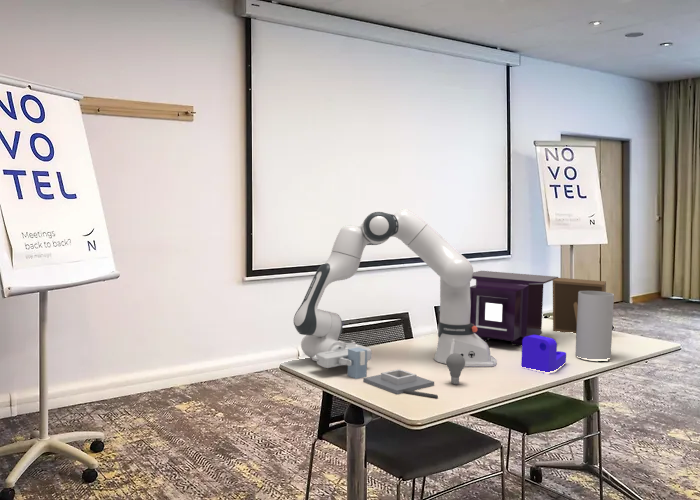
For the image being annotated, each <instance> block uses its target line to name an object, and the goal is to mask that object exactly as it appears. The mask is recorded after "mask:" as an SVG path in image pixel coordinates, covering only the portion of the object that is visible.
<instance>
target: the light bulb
mask: <svg viewBox="0 0 700 500" xmlns="http://www.w3.org/2000/svg"><path fill="white" fill-rule="evenodd" d="M464 366H465V359H464V358H463V356H462V355H461V354H458V353H453V354H450V355H449V356H448V358H447V360H446V367H447V369H448V371H449V375H450V383H452V385H458V384H459V383H460V377H461V373H462V372H463V370H464V368H465V367H464Z"/></svg>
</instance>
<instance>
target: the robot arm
mask: <svg viewBox="0 0 700 500" xmlns="http://www.w3.org/2000/svg"><path fill="white" fill-rule="evenodd" d="M362 221H363V222H362V223H361V224H360V225H359V226H357V225H351V224H350V225H345V226H342V227H340V230H339V231H338V233H337V235H336V238H335V240H334V242H333V246H332V249H331V252H330V255H329V256H328V258H327V260H326V261H325V263H323V264H321V265H320V266H319V267H318V269H317V270H316V272H315V273H314V275H313V278H312V280H311V282H310V285H309V286H308V289H307V291H306V294H305V296H304V298H303V301H302V302H301V304H300V306H299V307H298V308H297V311H296V312H295V314H294V316H293V325H294V328H295V330H296V331H297V333H298V334H299V335H302V336H304V337H303V338H302V340H301V342H300V347H301V348H300V349H301V350H302V352H303V353H304V355H305V356H307V357H308V358H310V359H312V361H315V362H316V364H317V365H319V366H320V367H322V368H325V369H326V368H327V369H329V368H337V367H340V366H347V367H348V366H352V365H354V361H353V360H352V359H348V349H352V348H357V347H359V348H362V349H366V350H367V362H368V361H371V360H372V357H373V356H372V354H373V353H372V349H371V348H369V347H367V346H364V345H361V344H357V343H356V342H355V341H352V340H351V341H350V340H349V341H347V340H346V341H345V340H344V341H342V340H340V337H341V335H342V333H343V326H344V325H343V320H342V318H341V316H340V314H338V313H336V312H332V311H328V310H324V309H320V308H319V307H318V306H319V304H320V301H321V299H322V297H323V296H324V292H325V290H326V288H327V287H328V286H329V285H330V284H332V283H335V282H340V281H345V280H348V279H350V278H352V277H353V276H354V275H356V274H357V271H358V270H359V267H360V263H361V260H362V256H363V252H364V250H365V248H366V246H377V245H381V244H384V243H385V242H387V241H388V240H389V239H390V238H396V239H398V240H400V241H401V242H402V243H403V244H404V245H405V246H406V247H407V248H409V250H411V251H412V252H413V253H414V254H415V255H416V256H417V257H419V258H420V259H421V260H422V261H423V262H424V263H425V264H426V265H427V266H428V267H429V268H430V269H431V270H432V271H433V272H434V273H436V275H438V277H440V279H439V282H440V283H439V285H440V286H439V290H440V291H439V293H440V294H439V321H438V322H437V323H438V324H437V337H438V341H437V347H436V350H435V354H434V357H433V359H434V361H435V362H438V363H441V364H446V360H447V358H448V356H449V355H450V354H453V353H458V354H461V355H462V356H463V358H464V359H465V366H464V368H466V367H467V368H469V367H475V368H476V367H494V366H496V365H497V359H496V357H495V356H492V355H491V349H490V347H489V344H488V342H487V341H484V340H482V339H481V338H480V337H479V336H478V335H476V334H475V332H477V330H478V329H477V327H476V326H475V325H474V324H472V323H470V308H471V299H470V287H471V281H472V280H473V279H472V277H473V272H474V267H473V265H472V263H471V261H469V260H468V259H467V257H465V256H464V255H462V254H461V252H460V251H458V250H457V249H456V248H455V247H454V246H453V245H452V244H451V243H450V242H449V241H448V240H447V239H445V238H444V237H443V236H442V235H441V234H439V233H438V232H437V231H436V230H435V229H434V228H433V227H432V226H431V225H430V224H429V223H427V222H426V221H425V220H424V219H423V218H421V217H420V216H419V215H417V214H416V213H414V212H412V211H411V210H409V209H406V208H404V209H399V210H397V211H396V212H395V213H394V214H391V213H386V212H383V211H374V212H371V213H370V214H368V215H367V216H366V217H365V218H364V219H363V220H362ZM446 365H447V364H446Z"/></svg>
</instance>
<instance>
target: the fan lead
mask: <svg viewBox="0 0 700 500" xmlns="http://www.w3.org/2000/svg"><path fill="white" fill-rule="evenodd" d="M403 392H404V393H403V394H408V395H409V394H410V395H414V394H415V395H416V396H420V395H421V397H422V396H423V397H426V396H427V398H432V397H434V398H433V399H438V398H439V396H438V394H435V393H434V394H433V393H428V392H422V391H417V390H414V391H411V390H404V391H403Z"/></svg>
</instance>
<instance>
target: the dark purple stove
mask: <svg viewBox="0 0 700 500" xmlns="http://www.w3.org/2000/svg"><path fill="white" fill-rule="evenodd" d="M557 278H559V276H554V275H553V276H551V275H542V274H541V275H539V274H529V273H514V272H504V271H501V272H500V271H492V270H491V271H489V270H478V271H473V277H472V279H471V280H475V285H472V286H471V285H470V299H471V308H470V323H472V324H474V325H475V326H476V327H477V329H478V330H477V332H475V334H476V335H478V336H479V337H480V338H481V339H482V340H488V341H490V340H491V339H492V340H499V341H506V342H511V345H512V344H516V345H515V346H518V345H522V340H523V338H524V337H526V336H530V335H539V336H542V334H543V331H542V330H543V329H542V327H543V326H542V325H543V304H544V302H543V300H544V284H546V283H550V282H553V280H555V279H557ZM489 339H490V340H489Z"/></svg>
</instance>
